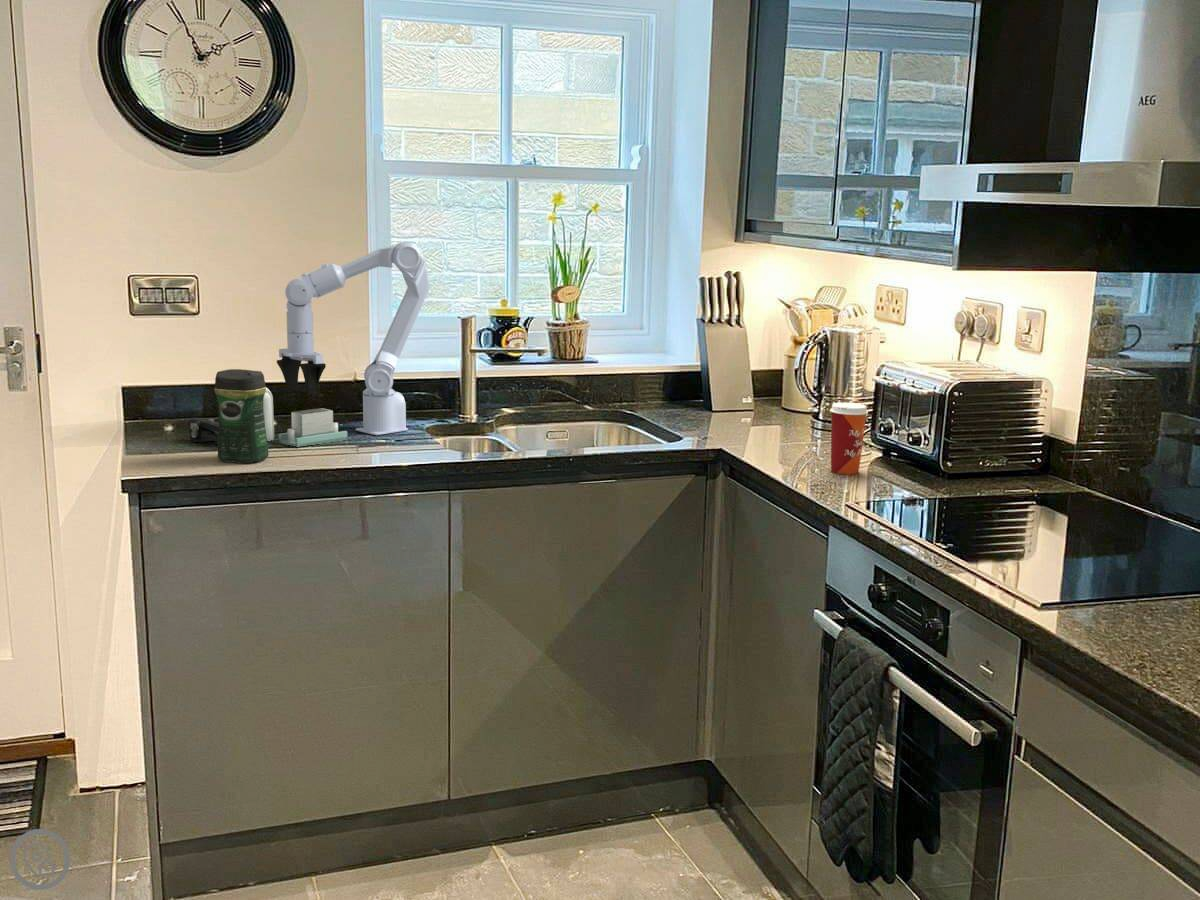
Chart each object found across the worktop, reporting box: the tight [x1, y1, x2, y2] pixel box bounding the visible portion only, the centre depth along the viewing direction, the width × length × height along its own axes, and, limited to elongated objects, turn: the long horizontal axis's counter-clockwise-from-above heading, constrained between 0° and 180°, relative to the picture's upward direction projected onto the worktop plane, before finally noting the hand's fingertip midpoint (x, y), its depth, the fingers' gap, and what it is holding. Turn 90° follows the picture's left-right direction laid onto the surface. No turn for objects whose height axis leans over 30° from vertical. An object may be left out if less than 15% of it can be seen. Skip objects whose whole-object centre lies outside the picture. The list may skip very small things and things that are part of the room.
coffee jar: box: [214, 368, 269, 464], centre depth 235 cm, size 10×8×19 cm
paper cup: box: [829, 402, 869, 476], centre depth 239 cm, size 8×8×14 cm
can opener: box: [187, 417, 219, 444], centre depth 250 cm, size 18×7×6 cm, turn 55°
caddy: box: [278, 421, 349, 447], centre depth 256 cm, size 13×7×4 cm, turn 138°
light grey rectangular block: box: [291, 407, 334, 438], centre depth 256 cm, size 8×4×6 cm, turn 138°
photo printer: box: [263, 387, 275, 442], centre depth 257 cm, size 10×4×12 cm, turn 39°
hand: (301, 392), depth 264 cm, fingers open, 7 cm apart
